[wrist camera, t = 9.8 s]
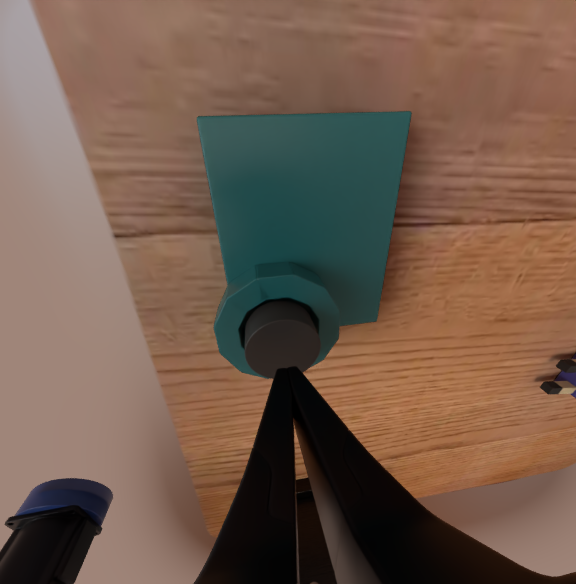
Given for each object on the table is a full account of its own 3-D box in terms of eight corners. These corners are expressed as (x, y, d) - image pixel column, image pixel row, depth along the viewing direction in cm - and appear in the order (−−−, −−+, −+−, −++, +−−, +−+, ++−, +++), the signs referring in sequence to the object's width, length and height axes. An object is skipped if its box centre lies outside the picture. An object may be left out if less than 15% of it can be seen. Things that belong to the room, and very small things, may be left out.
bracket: (339, 471, 27) (381, 611, 18) (336, 502, 31) (369, 630, 22) (254, 488, 26) (256, 645, 17) (261, 518, 30) (265, 659, 21)
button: (249, 358, 13) (249, 384, 11) (240, 304, 11) (239, 325, 10) (312, 350, 13) (320, 373, 12) (312, 296, 12) (322, 315, 10)
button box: (231, 345, 16) (227, 385, 13) (186, 124, 10) (158, 104, 7) (363, 328, 17) (387, 361, 14) (391, 118, 11) (444, 99, 8)
